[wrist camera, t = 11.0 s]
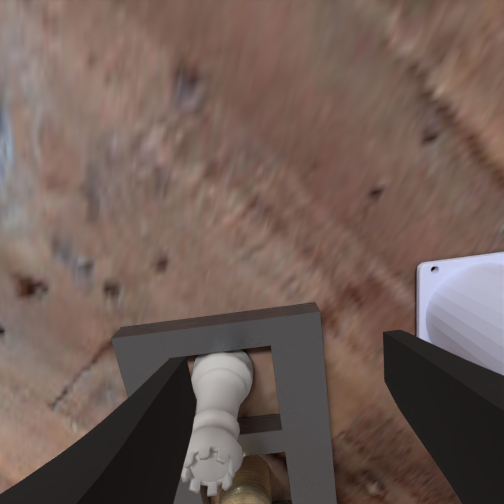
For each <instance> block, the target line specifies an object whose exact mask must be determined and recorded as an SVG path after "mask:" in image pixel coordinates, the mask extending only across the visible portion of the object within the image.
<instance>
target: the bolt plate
mask: <svg viewBox="0 0 504 504" xmlns="http://www.w3.org/2000/svg"><path fill="white" fill-rule="evenodd" d="M111 340H112V343H113V347H114V350H115V354H116V357H117V361H118V365H119V368H120V372H121V375H122V379H123V382H124V386H125V389H126V393H127V396H128V398H129V397H130V396H131V395H132V394H133V393H134V392H135V391H136V390H137V389H138V388H139V387H140V386H141V385H142V384H144V383H145V382H146V381H147V380H148V379H149V378H150V377H151V376H152V375H153V374H154V373H155V372H156V371H157V370H158V369H159V368H160V367H161V366H162V365H163V364H164V363H165V362H166V361H168V360H169V359H171V358H177V357H183V356H191V355H199V354H207V353H215V352H223V351H231V350H238V349H246V348H254V347H262V346H270V345H271V351H272V359H273V366H274V373H275V381H276V388H277V395H278V403H279V410H280V414H273V415H264V416H256V417H247V418H239V419H237V422H238V423H239V429H240V433H239V437H238V440H237V442H238V443H239V445H240V446H241V448H242V453H243V460H242V463H241V467H240V468H239V469H238V470H237V471H236V472H235V477H233V480H232V486H231V487H230V488H229V489H228V490H227V491H225V490H224V489H223V488H222V484H221V486H220V496H219V504H337V501H336V490H335V478H334V467H333V455H332V443H331V432H330V420H329V409H328V397H327V386H326V374H325V362H324V351H323V339H322V328H321V316H320V311H319V309H318V307H317V305H316V303H315V302H314V303H306V304H298V305H291V306H283V307H275V308H267V309H260V310H252V311H244V312H236V313H229V314H221V315H213V316H205V317H198V318H190V319H182V320H174V321H166V322H159V323H151V324H143V325H135V326H128V327H121V328H120V329H119V330H118V331H117V333H116V334H115V335H114V336H113V337H112V338H111ZM279 452H285V454H286V462H287V469H288V476H289V484H290V491H291V499H292V500H289V501H280V502H272V498H271V484H270V470H269V467H268V465H267V463H266V462H265V461H264V460H263V459H262V458H260V457H258V456H256V455H261V454H270V453H279ZM190 481H191V480H190V478H189V481H188V482H184V483H183V481H182V477H180V481H179V485H178V488H177V492H176V496H175V499H174V503H173V504H210V500H209V496H207V486H204V485H200V490H199V492H198V494H195V493H194V492H192V491H190V490H189V485H190Z"/></svg>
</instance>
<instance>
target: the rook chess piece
mask: <svg viewBox="0 0 504 504" xmlns="http://www.w3.org/2000/svg"><path fill="white" fill-rule="evenodd" d="M253 374H254V371H253V365H252V361H251V360H250V358H249V357H248V355H247V354H246V353H245V352H243V351H242V350H240V349H238V350H231V351H223V352H215V353H207V354H199V356H198V357H197V358H196V359H195V363H194V367H193V373H192V377H191V380H192V385H193V390H194V393H195V395H196V398H197V412H196V416H195V417H194V424H193V430H192V435H191V439H190V443H189V447H188V451H187V455H186V458H185V462H184V466H183V470H182V473H181V477H182V481H183V483H184V482H188V481H189V478H190V480H191V481H190V485H189V490H190V491H192V492H194V493H195V494H198V492H199V490H200V485H204V486H208V491H207V496H216V495H217V494H218V485H220V484H222V488H223V489H224V490H225V491H227V490H228V489H229V488H230V487H231V486H232V480H233V477H235V472H236V471H237V470H238V469H239V468H240V467H241V463H242V460H243V453H242V448H241V446H240V445H239V443H238V442H237V440H238V437H239V433H240V429H239V423H238V422H237V415H238V411H239V406H240V404H241V403H242V402H243V401H244V399H245V398H246V397H247V395H248V394H249V392H250V389H251V386H252V382H253V378H252V377H253Z"/></svg>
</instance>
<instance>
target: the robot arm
mask: <svg viewBox="0 0 504 504" xmlns="http://www.w3.org/2000/svg"><path fill="white" fill-rule="evenodd" d="M434 266H435V269H434V271H432V272H431V268H432V267H434ZM383 345H384V379H385V383H386V385H387V387H388V389H389V391H390V393H391V395H392V397H393V398H394V400H395V402H396V404H397V406H398V408H399V409H400V411H401V412H402V414H403V415H404V417H405V418H406V420H407V421H408V423H409V424H410V426H411V427H412V429H413V430H414V432H415V433H416V435H417V436H418V437H419V439H420V440H421V442H422V443H423V445H424V446H425V448H426V449H427V451H428V452H429V453H430V455H431V456H432V458H433V459H434V461H435V462H436V464H437V465H438V467H439V468H440V469H441V471H442V472H443V474H444V475H445V477H446V478H447V480H448V481H449V483H450V485H451V486H452V488H453V489H454V491H455V492H456V494H457V495H458V497H459V499H460V501H461V502H462V504H504V252H499V253H491V254H483V255H476V256H468V257H461V258H453V259H445V260H438V261H430V262H423V263H421V264H420V265H419V266H418V267H417V337H416V336H414V335H412V334H410V333H407V332H405V331H402V330H395V331H387V332H383ZM195 409H196V400H195V395H194V391H193V386H192V382H191V377H190V373H189V368H188V363H187V359H186V357H179V358H171V359H169V360H168V361H166V362H165V363H164V364H163V365H162V366H161V367H160V368H159V369H158V370H157V371H156V372H155V373H154V374H153V375H152V376H151V377H150V378H149V379H148V380H147V381H146V382H145V383H144V384H142V385H141V386H140V387H139V388H138V389H137V390H136V391H135V392H134V393H133V394H132V395H131V396H130V397H129V398H128V399H127V400H126V401H124V402H123V403H122V404H121V405H120V406H119V407H118V408H117V409H115V410H114V411H113V412H112V413H111V414H110V415H109V416H108V417H106V418H105V419H104V420H103V421H102V422H101V423H99V424H98V425H97V426H96V427H95V428H93V429H92V430H91V431H90V432H88V433H87V434H86V435H85V436H83V437H82V438H81V439H79V440H78V441H77V442H76V443H74V444H73V445H72V446H70V447H69V448H68V449H66V450H65V451H64V452H62V453H61V454H59V455H58V456H57V457H55V458H54V459H52V460H51V461H49V462H48V463H46V464H45V465H44V466H42V467H41V468H39V469H38V470H36V471H35V472H33V473H32V474H30V475H29V476H28V477H26V478H25V479H23V480H22V481H20V482H19V483H17V484H16V485H14V486H12V487H11V488H9V489H8V490H6V491H5V492H3V493H1V494H0V504H173V503H174V499H175V496H176V492H177V488H178V485H179V481H180V477H181V473H182V470H183V466H184V462H185V458H186V455H187V451H188V447H189V443H190V439H191V435H192V430H193V424H194V417H195Z"/></svg>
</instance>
